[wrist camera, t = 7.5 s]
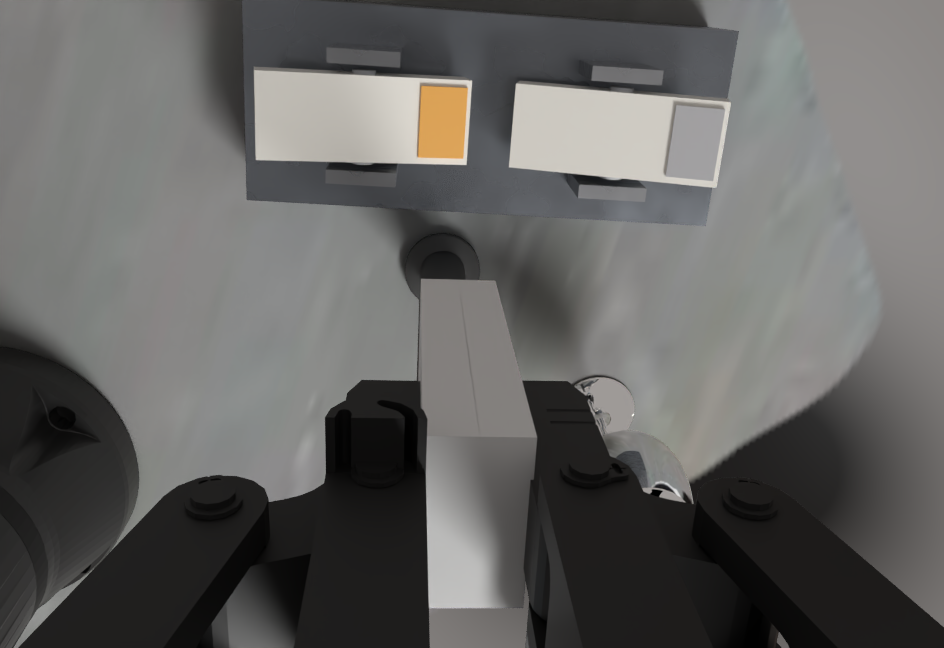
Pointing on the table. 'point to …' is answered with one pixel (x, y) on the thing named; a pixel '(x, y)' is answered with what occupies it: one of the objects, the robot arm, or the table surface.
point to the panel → (480, 101)
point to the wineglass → (634, 440)
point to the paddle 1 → (360, 116)
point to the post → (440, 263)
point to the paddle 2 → (618, 133)
